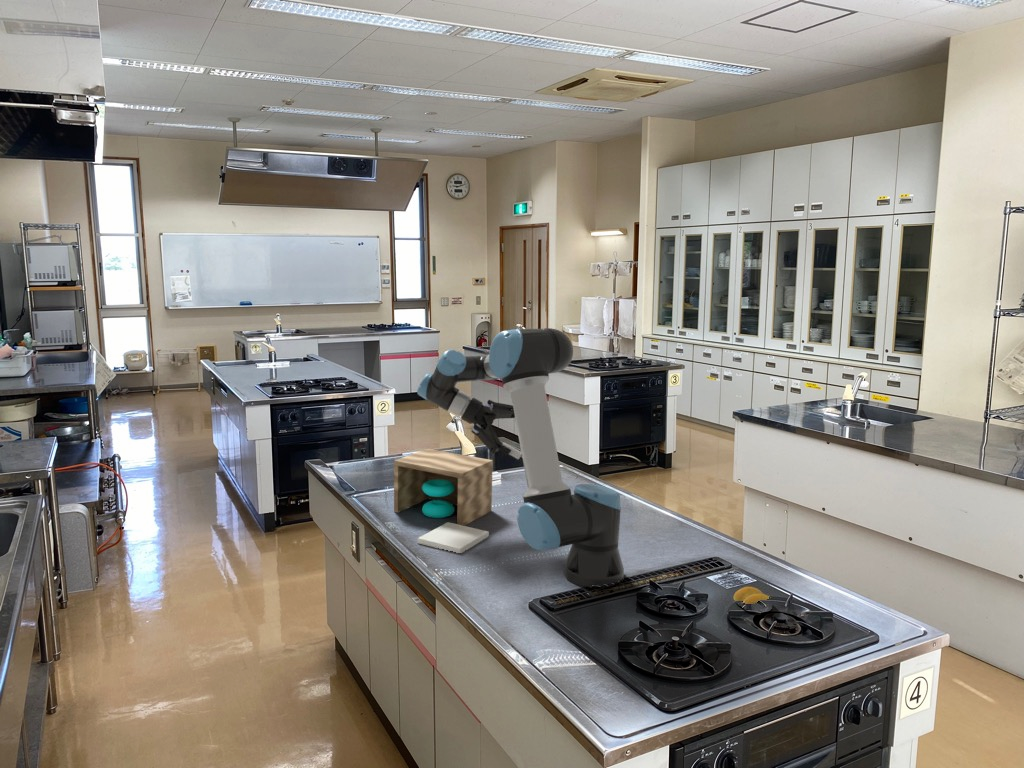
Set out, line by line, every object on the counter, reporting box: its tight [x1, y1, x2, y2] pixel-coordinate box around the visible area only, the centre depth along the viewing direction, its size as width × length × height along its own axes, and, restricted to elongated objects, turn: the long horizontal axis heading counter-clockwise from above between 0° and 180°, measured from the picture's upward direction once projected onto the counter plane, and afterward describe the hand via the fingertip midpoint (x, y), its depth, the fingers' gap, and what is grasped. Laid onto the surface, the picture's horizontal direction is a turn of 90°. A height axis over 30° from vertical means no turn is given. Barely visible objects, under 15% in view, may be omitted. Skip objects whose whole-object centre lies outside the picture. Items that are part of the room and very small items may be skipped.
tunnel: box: [393, 448, 494, 526], centre depth 231 cm, size 18×25×16 cm
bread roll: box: [733, 586, 770, 604], centre depth 174 cm, size 8×9×4 cm
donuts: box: [421, 479, 455, 519], centre depth 229 cm, size 10×10×10 cm
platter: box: [417, 522, 490, 554], centre depth 209 cm, size 15×14×2 cm
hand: (527, 441), depth 225 cm, fingers open, 13 cm apart
